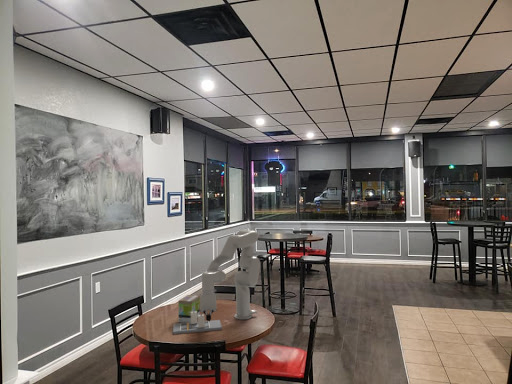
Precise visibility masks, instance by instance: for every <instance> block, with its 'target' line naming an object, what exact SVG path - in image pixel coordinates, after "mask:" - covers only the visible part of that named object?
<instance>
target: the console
mask: <svg viewBox="0 0 512 384" xmlns="http://www.w3.org/2000/svg"><path fill="white" fill-rule="evenodd" d="M222 329H223V326H222V323H221V319H217V320H216V319H214V320H210V322H209V321H208V322H207V320H205V327H201V328H198V321H197V324H191V323H182V322H178V323H174V324H173V328H172V335H179V334H189V333H190V334H191V333H201V332H202V333H203V332H211V331H212V332H213V331H221V330H222Z"/></svg>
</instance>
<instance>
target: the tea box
mask: <svg viewBox="0 0 512 384" xmlns="http://www.w3.org/2000/svg"><path fill="white" fill-rule="evenodd" d="M200 297H201V295H194V294H191V295H190V294H189V295H188V294H187V295H185V296H184V297H182V298H181V299H179V300H178V323H191V312H193V311H197V319H198V315H201V312H200Z"/></svg>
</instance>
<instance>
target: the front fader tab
mask: <svg viewBox="0 0 512 384" xmlns="http://www.w3.org/2000/svg"><path fill="white" fill-rule="evenodd" d="M205 321H206V314H203V313H200V315H198V318H197V322H198V328H201V327H205Z"/></svg>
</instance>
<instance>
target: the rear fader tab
mask: <svg viewBox="0 0 512 384" xmlns="http://www.w3.org/2000/svg"><path fill="white" fill-rule="evenodd" d="M197 322H198V318H197V311H193V312H191V324H197Z"/></svg>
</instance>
